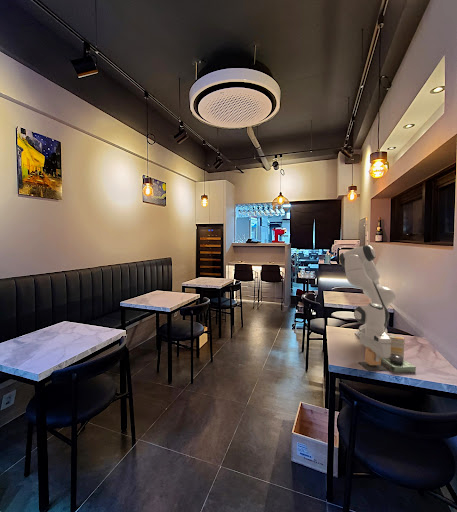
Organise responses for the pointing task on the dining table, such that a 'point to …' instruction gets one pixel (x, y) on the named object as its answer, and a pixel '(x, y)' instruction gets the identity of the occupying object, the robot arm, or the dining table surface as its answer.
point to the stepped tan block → (371, 357)
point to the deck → (397, 364)
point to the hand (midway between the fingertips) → (373, 358)
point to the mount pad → (373, 367)
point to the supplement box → (397, 345)
